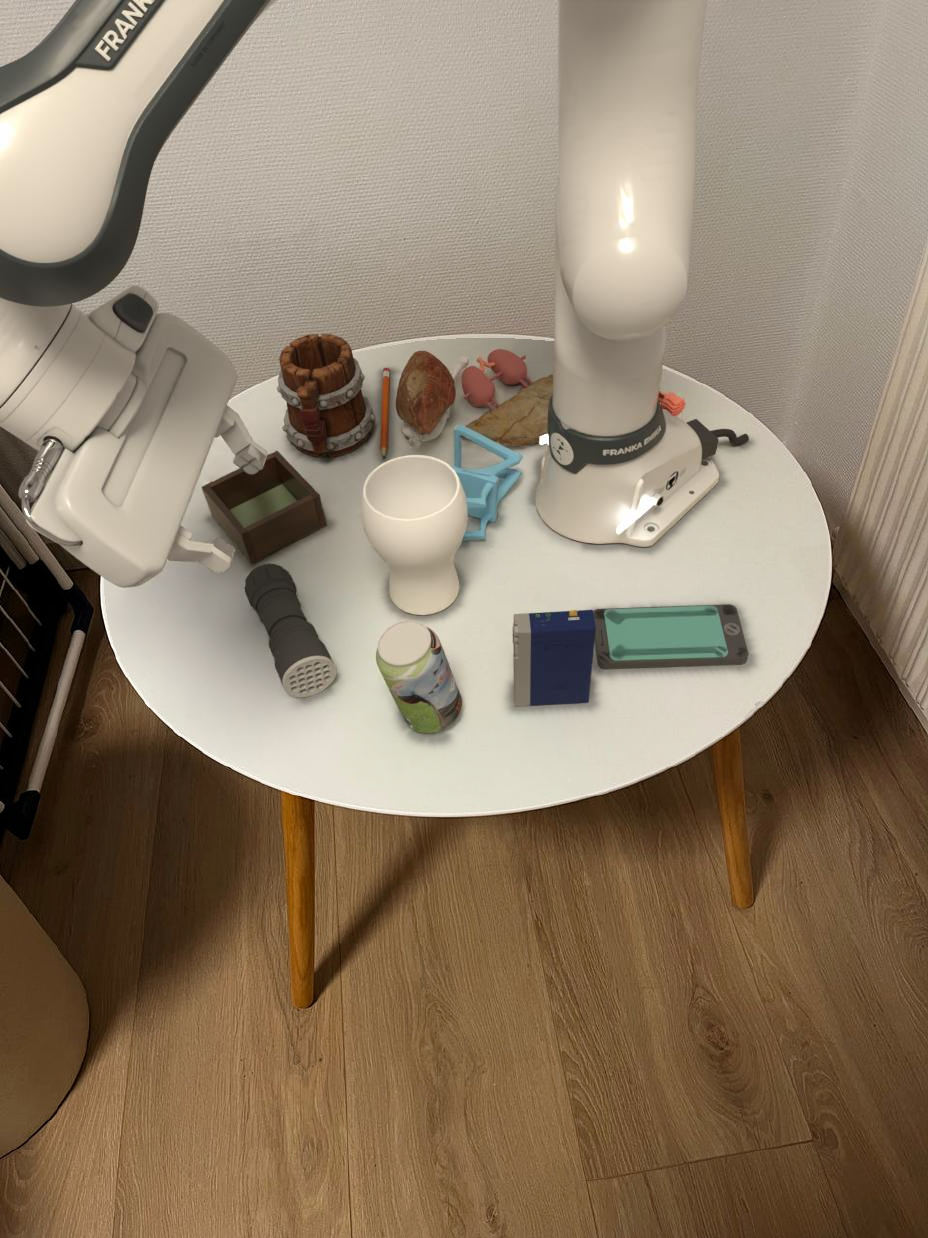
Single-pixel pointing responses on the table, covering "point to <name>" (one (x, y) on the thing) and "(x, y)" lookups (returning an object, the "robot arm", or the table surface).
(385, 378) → the pencil
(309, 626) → the flashlight
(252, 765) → the table surface
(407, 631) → the beverage can
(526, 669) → the blue rectangular block
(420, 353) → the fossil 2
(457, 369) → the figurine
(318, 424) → the mug
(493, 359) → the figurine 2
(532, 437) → the fossil
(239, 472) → the can holder
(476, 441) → the chair
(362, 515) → the cup
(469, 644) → the table surface
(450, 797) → the table surface
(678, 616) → the smartphone
